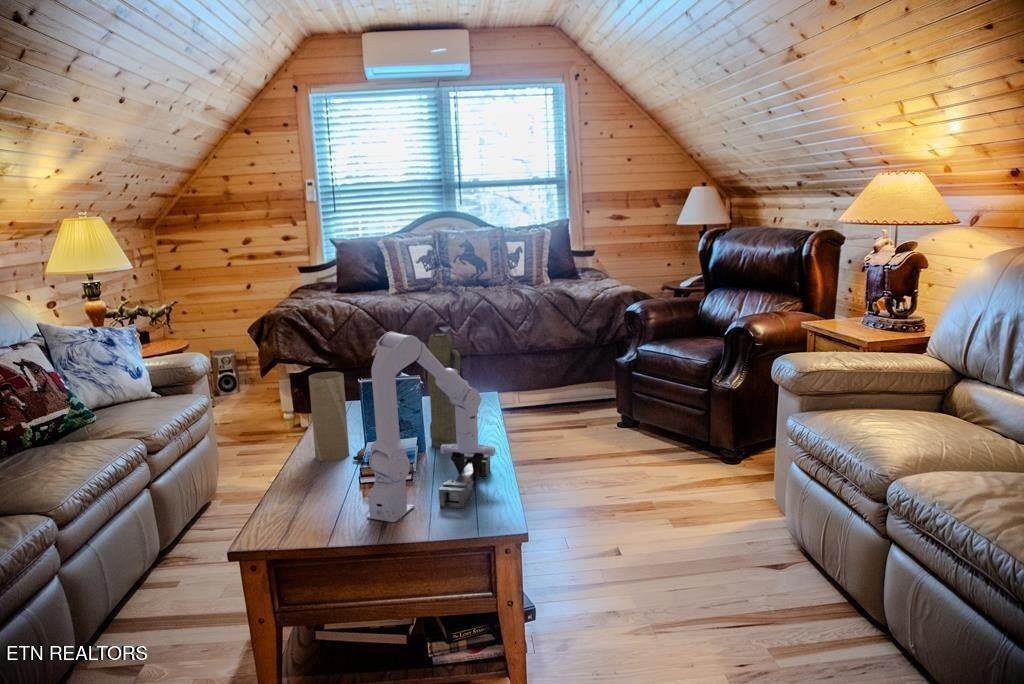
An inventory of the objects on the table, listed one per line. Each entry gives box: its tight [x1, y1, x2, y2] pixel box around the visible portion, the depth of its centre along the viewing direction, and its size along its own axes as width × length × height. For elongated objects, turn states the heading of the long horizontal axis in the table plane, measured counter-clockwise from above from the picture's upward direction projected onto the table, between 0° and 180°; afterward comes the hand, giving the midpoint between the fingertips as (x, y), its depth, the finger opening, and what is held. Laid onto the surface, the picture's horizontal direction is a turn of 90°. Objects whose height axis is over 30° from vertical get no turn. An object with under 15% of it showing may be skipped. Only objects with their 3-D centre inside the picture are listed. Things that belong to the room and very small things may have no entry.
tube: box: [308, 371, 350, 463], centre depth 214 cm, size 10×10×25 cm
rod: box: [449, 463, 480, 501], centre depth 187 cm, size 18×3×3 cm, turn 168°
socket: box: [464, 454, 491, 477], centre depth 197 cm, size 5×7×5 cm
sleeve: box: [438, 478, 474, 510], centre depth 179 cm, size 8×6×5 cm
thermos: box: [422, 332, 461, 450], centre depth 220 cm, size 9×12×35 cm
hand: (469, 479), depth 190 cm, fingers closed on rod, 3 cm apart
